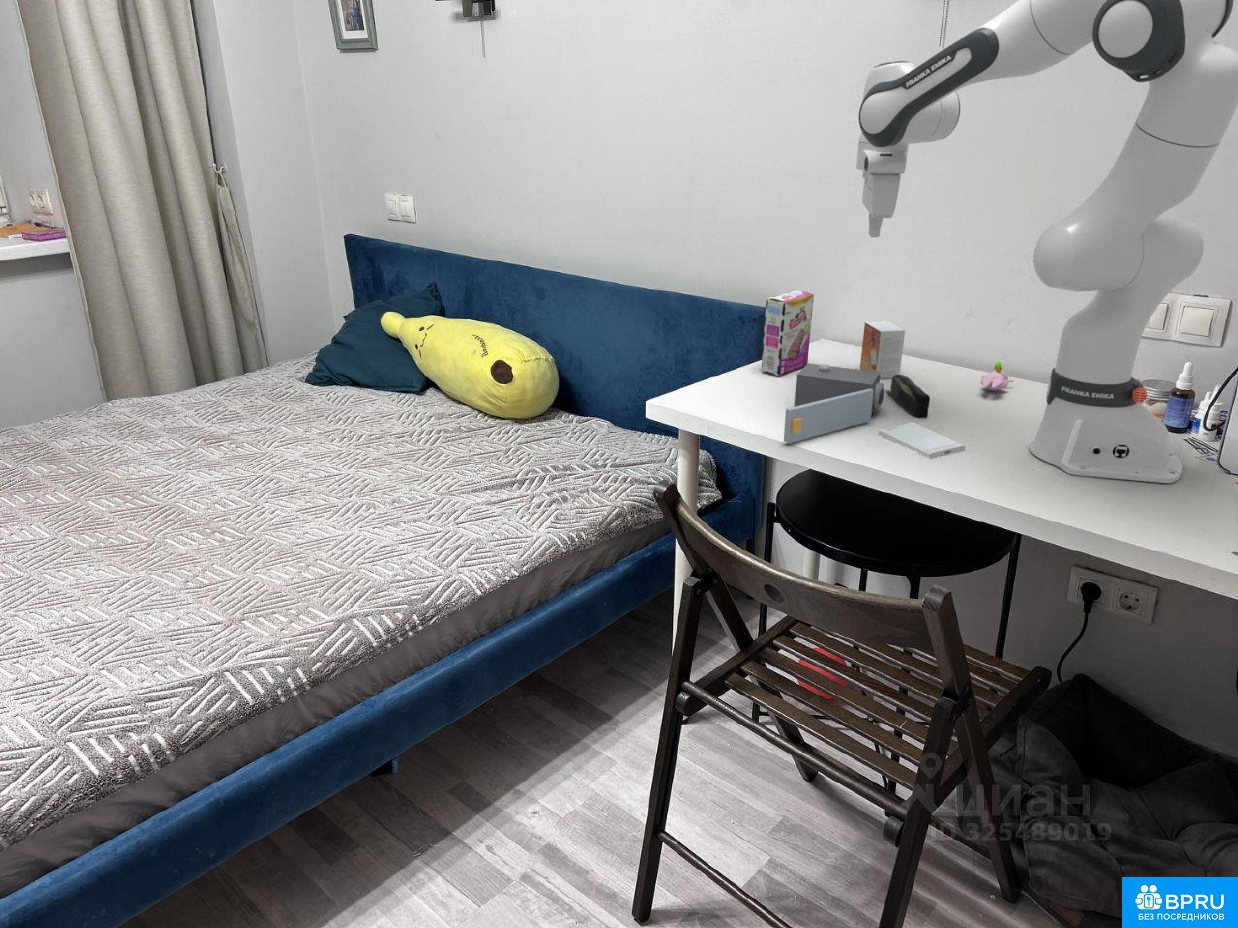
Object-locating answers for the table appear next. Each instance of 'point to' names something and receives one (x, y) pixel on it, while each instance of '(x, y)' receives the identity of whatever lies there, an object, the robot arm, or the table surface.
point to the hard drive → (921, 440)
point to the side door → (828, 415)
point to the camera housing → (835, 384)
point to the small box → (882, 348)
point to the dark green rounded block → (909, 396)
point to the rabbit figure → (996, 379)
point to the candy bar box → (787, 332)
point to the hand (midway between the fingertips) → (873, 236)
